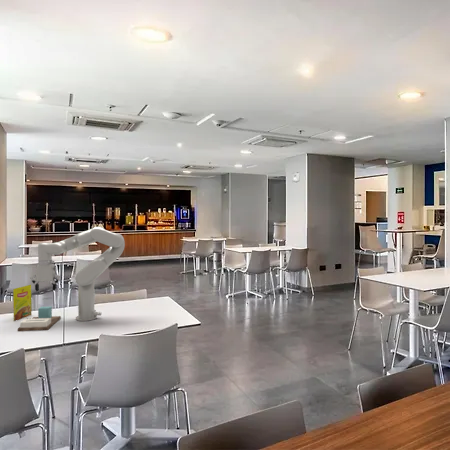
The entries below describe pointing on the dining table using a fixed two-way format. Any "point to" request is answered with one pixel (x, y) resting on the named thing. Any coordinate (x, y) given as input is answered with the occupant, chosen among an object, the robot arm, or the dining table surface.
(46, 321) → the white tray
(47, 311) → the teal cube
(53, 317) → the board
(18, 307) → the food package
